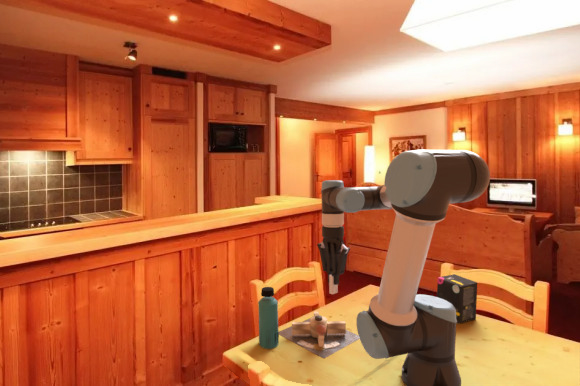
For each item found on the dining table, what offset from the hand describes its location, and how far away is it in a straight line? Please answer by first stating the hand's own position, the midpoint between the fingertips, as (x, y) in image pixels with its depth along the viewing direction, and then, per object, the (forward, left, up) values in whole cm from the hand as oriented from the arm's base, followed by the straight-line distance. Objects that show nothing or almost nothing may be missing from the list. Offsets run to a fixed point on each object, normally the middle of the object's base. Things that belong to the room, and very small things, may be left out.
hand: (333, 292), depth 127 cm
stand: (+1, +7, -15) cm, 16 cm away
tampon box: (-23, -44, -15) cm, 52 cm away
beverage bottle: (+8, +23, -15) cm, 28 cm away
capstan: (+1, +7, -13) cm, 15 cm away
